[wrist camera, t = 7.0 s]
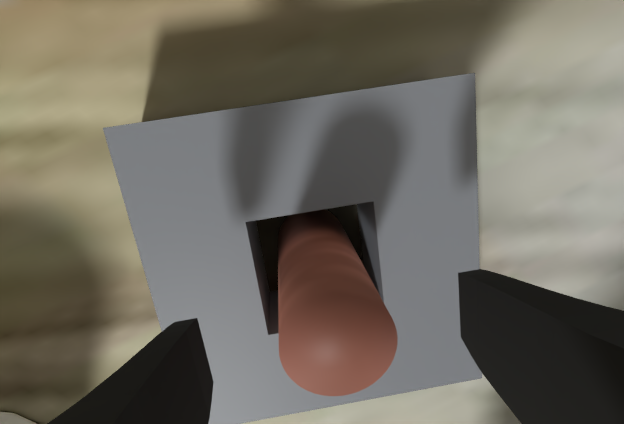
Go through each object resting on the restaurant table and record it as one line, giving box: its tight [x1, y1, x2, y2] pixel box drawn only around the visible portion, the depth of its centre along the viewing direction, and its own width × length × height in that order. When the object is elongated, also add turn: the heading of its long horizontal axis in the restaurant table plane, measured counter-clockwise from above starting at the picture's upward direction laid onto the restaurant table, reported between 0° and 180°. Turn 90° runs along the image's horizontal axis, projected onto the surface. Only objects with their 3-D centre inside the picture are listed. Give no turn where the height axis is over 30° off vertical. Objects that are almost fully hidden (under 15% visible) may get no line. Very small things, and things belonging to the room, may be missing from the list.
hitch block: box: [103, 73, 482, 424], centre depth 16 cm, size 12×12×4 cm
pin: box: [278, 209, 398, 396], centre depth 13 cm, size 3×3×8 cm
